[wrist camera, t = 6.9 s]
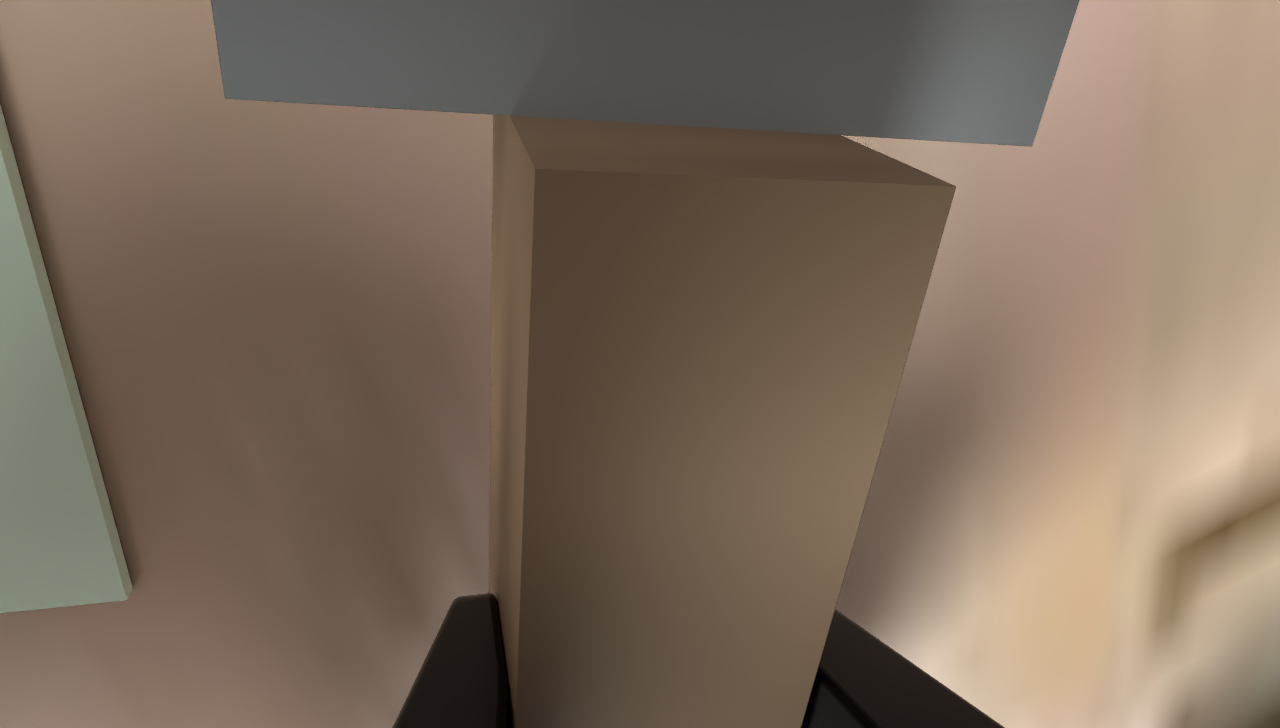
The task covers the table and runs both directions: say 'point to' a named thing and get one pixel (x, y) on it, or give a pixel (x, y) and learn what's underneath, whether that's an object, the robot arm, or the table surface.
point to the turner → (681, 301)
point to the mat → (45, 438)
